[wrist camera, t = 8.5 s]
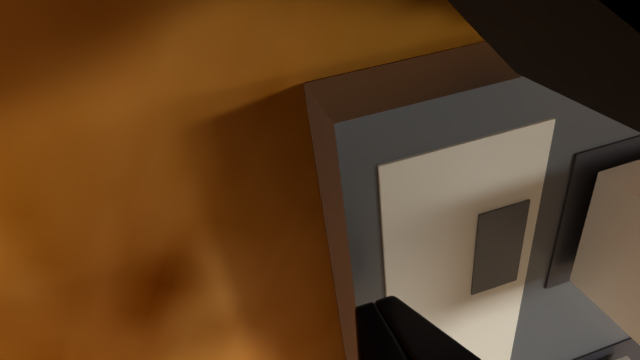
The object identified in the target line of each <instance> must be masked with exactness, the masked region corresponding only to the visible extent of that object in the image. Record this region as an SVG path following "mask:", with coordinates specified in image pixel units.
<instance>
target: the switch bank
mask: <svg viewBox="0 0 640 360" xmlns="http://www.w3.org/2000/svg"><path fill="white" fill-rule="evenodd" d="M303 85H304V92H305V98H306V105H307V111H308V118H309V124H310V131H311V137H312V143H313V150H314V156H315V163H316V169H317V176H318V182H319V189H320V195H321V202H322V208H323V215H324V221H325V228H326V234H327V240H328V247H329V253H330V260H331V266H332V273H333V279H334V286H335V292H336V299H337V305H338V312H339V318H340V325H341V331H342V337H343V344H344V350H345V357H346V360H358V355H357V340H356V326H355V308H356V307H357V306H360V305H363V304H366V303H369V302H373V303H375V301H376V300H378V299H381V298H385V297H388V296H396V297H397V298H399V299H400V300H401V301H403V302H404V303H405V304H407V305H408V306H409V307H411V308H412V309H414V310H415V311H416V312H418V313H419V314H420V315H422V316H423V317H424V318H426V319H427V320H428V321H430V322H431V323H433V324H434V325H435V326H437V327H438V328H439V329H441V330H442V331H443V332H445V333H446V334H447V335H449V336H450V337H452V338H453V339H454V340H456V341H457V342H458V343H460V344H461V345H462V346H464V347H465V348H466V349H468V350H469V351H470V352H472V353H473V354H475V355H476V356H477V357H479V358H480V359H481V360H617V359H620V358H622V357H625V356H628V357H629V358H630V359H631V360H640V345H639V344H637V343H636V342H635V341H634V340H633V339H632V338H631V337H630V336H629V335H628V334H627V333H626V332H625V331H624V330H622V329H621V328H620V327H619V326H618V325H617V324H616V323H615V322H614V321H613V320H612V319H611V318H610V317H608V316H607V315H606V314H605V313H604V312H603V311H602V310H601V309H600V308H599V307H598V306H597V305H596V304H595V303H593V302H592V301H591V300H590V299H589V298H588V297H587V296H586V295H585V294H584V293H583V292H582V291H581V290H579V289H578V288H577V287H576V286H575V285H574V284H573V283H572V282H571V281H570V276H571V272H572V269H573V265H574V261H575V258H576V254H577V250H578V246H579V243H580V239H581V235H582V231H583V228H584V224H585V220H586V217H587V213H588V209H589V205H590V202H591V198H592V194H593V191H594V187H595V183H596V179H597V176H598V172H600V171H603V170H607V169H610V168H613V167H617V166H620V165H623V164H627V163H630V162H633V161H637V160H640V132H638V131H636V130H634V129H632V128H630V127H627V126H625V125H623V124H621V123H619V122H617V121H615V120H613V119H611V118H609V117H607V116H604V115H602V114H600V113H598V112H596V111H594V110H592V109H590V108H588V107H586V106H584V105H582V104H579V103H577V102H575V101H573V100H571V99H569V98H567V97H565V96H563V95H561V94H559V93H557V92H554V91H552V90H550V89H548V88H546V87H544V86H542V85H540V84H538V83H536V82H534V81H531V80H529V79H527V78H525V77H523V76H521V75H519V74H517V73H515V72H514V71H513V70H512V68H511V67H510V66H509V65H508V64H507V63H506V62H505V61H504V60H503V59H502V58H501V57H500V56H499V55H498V54H497V53H496V51H495V50H494V49H493V48H492V47H491V46H490V45H489V44H488V43H487V42H486V41H485V42H481V43H476V44H472V45H468V46H463V47H459V48H455V49H450V50H446V51H442V52H437V53H433V54H429V55H424V56H420V57H416V58H411V59H407V60H403V61H398V62H394V63H389V64H385V65H381V66H376V67H372V68H368V69H363V70H359V71H355V72H350V73H346V74H342V75H337V76H333V77H329V78H324V79H320V80H316V81H311V82H307V83H303Z"/></svg>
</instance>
